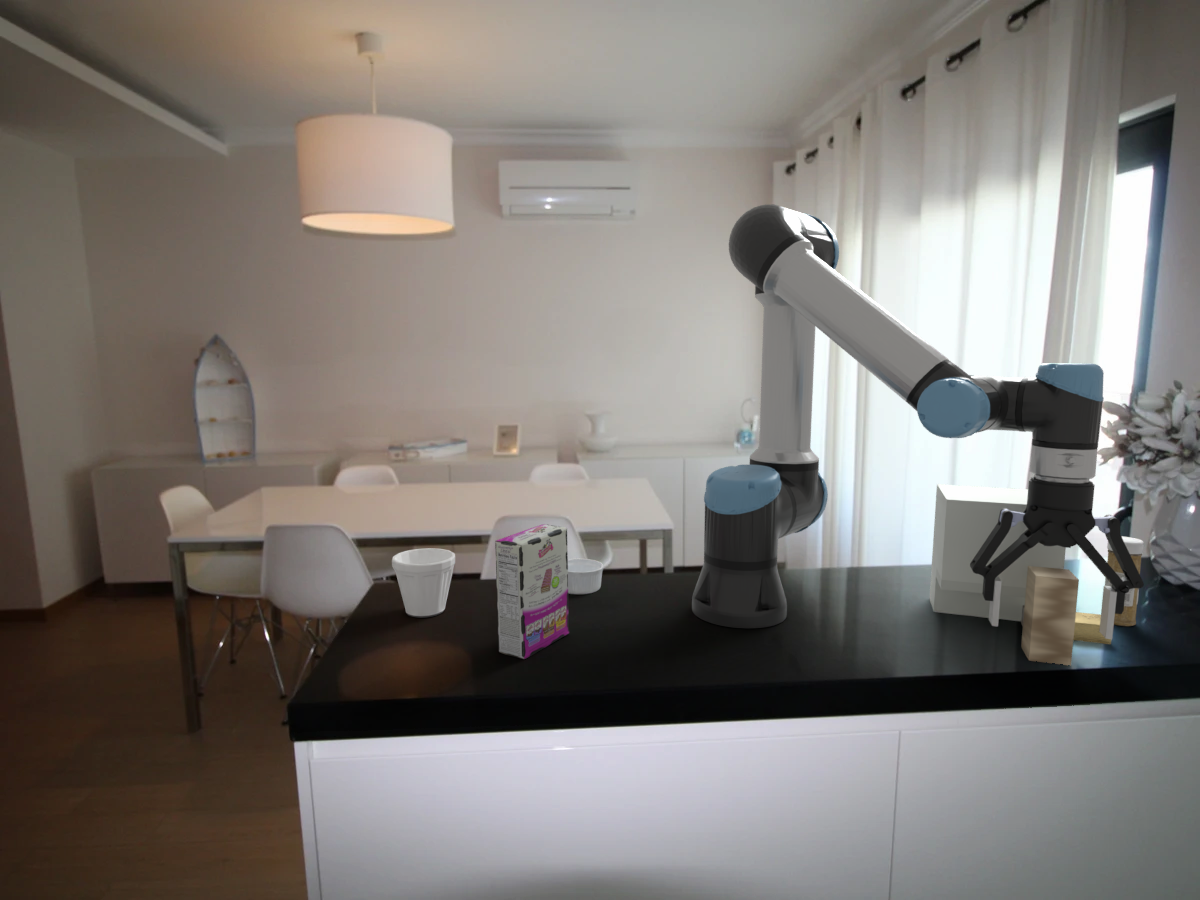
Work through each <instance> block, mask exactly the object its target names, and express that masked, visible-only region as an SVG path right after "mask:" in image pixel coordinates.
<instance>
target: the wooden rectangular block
mask: <svg viewBox="0 0 1200 900" xmlns="http://www.w3.org/2000/svg"><path fill="white" fill-rule="evenodd" d="M1079 583H1080V579H1079V578H1078V577H1077V576H1076V575H1075V574H1074V573H1073V572H1072V571H1071V570H1070V569H1068V568H1064V569H1057V568H1046V567H1034V566H1028V571H1027V583H1026V595H1025V606H1024V605H1023V607H1022V619H1021V621H1020V625H1021V626H1022V633H1021V634H1022V635H1021V643H1020V644H1021V646H1020V647H1021V649H1022V651H1023V653H1024V654H1025V657H1026V658H1027V660H1028V661H1029V662H1030V661H1031V662H1036V661H1037V662H1038V663H1045V664H1052V663H1055V664H1054V665H1060V664H1063V666H1068V665H1070V666H1072V659H1073V649H1074V648H1073V647H1074V640H1073V639H1074V628H1075V617H1076V612H1077V607H1078V606H1077V603H1078V594H1079V592H1078V591H1079ZM1046 662H1047V663H1046ZM1070 666H1069V667H1070Z"/></svg>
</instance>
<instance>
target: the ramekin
mask: <svg viewBox="0 0 1200 900" xmlns="http://www.w3.org/2000/svg"><path fill="white" fill-rule="evenodd" d="M604 567H605V566H604V564H603V563H602V562H601V561H598V560H595V559H589V558H568V595H569V594H570V595H589V594H592V593H596V592H597V591H599V590H600V589H601V586H602V576H603V571H604Z"/></svg>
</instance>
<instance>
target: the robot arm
mask: <svg viewBox="0 0 1200 900" xmlns="http://www.w3.org/2000/svg"><path fill="white" fill-rule="evenodd" d="M728 252H729V253H728V254H729V256H730V259H731V262H732V264H733V266H734V267H735V268H736V270H737V271H738V272H739V273H740V275H741V276H743V277H744V278H746V279H747V280H748V281H749V282H751V283H752V284H753V285H754V288H755V289H754V291H755V292H754V298H755V299H756V300H757V301H758V302H759V303H760V305H761V306H762V307H763V319H762V320H763V321H762V323H763V324H762V349H761V351H762V352H761V353H762V354H761V375H760V376H761V378H760V379H761V381H760V408H759V409H760V411H759V436H758V437H759V438H758V439H759V440H758V441H759V442H758V447H757V449H755V450H754V451H753V452H752V453H751V454H750V455H749V464H738V465H736V466H734V465H729V466H725V467H720V468H719V469H718V468H717V469H715V470H714V471H713V472H711V473H710V474H709V476H708V477H707V479H706V482H705V483H706V484H705V490H704V491H705V492H704V496H703V502H704V536H703V537H704V539H703V541H704V542H703V564H702V565H703V566H702V567H701V570H700V574H699V576H698V578H697V579H698V580H697V582H696V584H695V587H694V590H693V593H692V597H691V599H692V600H691V611H692V613H693V614H694V616H695V617H697V618H698V619H701V620H703V621H705V622H706V623H707V622H708V623H711V624H714V625H716V626H717V625H718V626H721V627H727V628H736V629H763V628H768V627H773V626H776V625H778V624H782V622H784V621H785V620H786V618H787V615H788V603H787V601H788V600H787V598H786V594H785V591H784V588H783V585H782V584H783V583H782V581H781V578H780V574H779V570H778V549H779V539H781V538H784V537H787V536H789V535H792V534H797V533H800V532H802V531H805V530H806V529H808V528H809V527H810V526H812V525H813V524H815V523H816V522H817V521H819V519H820V518H821V516H822V515H823V513H824V512H825V510H826V507H827V505H828V487H827V484H826V481H825V479H824V478H823V477H822V476H821V474H820V472H819V468H820V467H819V465H820V458H819V457H818V455H817V454H815V452H814V451H813V450H812V449H811V442H812V441H811V439H812V436H811V435H812V419H813V418H812V415H813V393H814V367H815V346H816V343H815V342H816V328H817V329H818V330H820V331H821V332H822V333H823V334H824V335H826V336H827V337H828V338H829V339H830V340H832V342H834V343H835V344H836V345H837V346H839V347H840V348H841V349H842V350H844V352H846V353H847V354H848V355H849V356H851V357H852V358H853V359H854V360H855V361H856V362H858V363H859V364H860V365H861V366H863V367H864V368H865V369H866V370H867V371H868V372H870V373H871V374H872V375H874V376H875V377H876V378H877V379H878V380H879V381H880V382H882V383H883V384H884V385H885V386H886V387H888V388H889V389H890V390H891V391H892V392H894V393H895V394H896V395H897V396H898V397H900V398H901V399H902V400H903V401H905V402H906V403H907V404H908V405H909V406H911V408H912V409H913V410H915V412H917V416H918V419H919V421H920V423H921V425H922V426H923V428H924V429H925V430H927V431H928V433H930V434H932V435H935V436H937V437H939V438H945V439H962V438H963V439H964V438H967V437H970V436H973V435H974V434H977V433H982V432H984V431H988V430H989V431H1008V432H1009V431H1011V432H1024V433H1026V432H1030V433H1032V440H1031V451H1030V452H1031V453H1030V462H1029V463H1030V465H1029V472H1030V473H1031V474H1032V475H1034V476H1032V477H1030V478H1028V486H1027V487H1028V488H1027V489H1028V497H1027V507H1026V509H1025V511H1024V512H1023V513H1021V512H1015V511H1010V510H1009V509H1007V508H1002V509H1001V510H1000V514H999V519H998V523H997V525H996V526H995V527H994V529H993V530H992V532H991V533H990V535H989V536H988V538H987V539H986V541H985V542H984V544H983V545H982V547H981V548H980V550H979V551H978V553H977V554H976V556H975V557H974V559H973V560H972V561H971V563H970V567H971V569H972V571H973V572H974V573H975V574H979V575H982V576H983V577H984V579H983V592H982V594H983V597H984V599H985V600H986V601H990V608H989V618H988V621H989V623H990V625H991V627H999V620H1000V619H999V607H1000V594H1001V582H1002V581H1001V580H1000V578H999V577H998V575H999V574H1001V573H1002V572H1003V571H1004V570H1005V569H1006V568H1008V567H1009V566H1010V565H1011V564H1012V563H1013V562H1014V561H1016V560H1017V559H1018V558H1019V557H1020V556H1021V555H1023V554H1024V553H1025V552H1026V551H1027V550H1028V549H1030V548H1032V547H1034V546H1035V545H1036V544H1037V543H1041V544H1043V545H1044V546H1056V545H1058V546H1062V547H1066V549H1067V548H1070V549H1071V547H1074V546H1076V545H1077V546H1078V547H1079V548H1080V550H1082V552H1083V553H1084V554H1085V555H1086V557H1088V559H1089V560H1090V561H1091V563H1093V565H1094V566H1095V568H1097V569H1098V570H1099V572H1100V573H1101V574H1102V576H1104V577H1106V579H1107V580H1108V581H1109V582H1110V583H1111V584H1112V587H1110V586H1105V585H1103V588H1102V589H1103V591H1102V600H1101V610H1100V611H1101V612H1100V615H1101V619H1100V630H1099V632H1100V633H1101V634H1102V635H1103V636H1104V637H1105V638H1106V639H1111V640H1113V635H1114V626H1115V625H1114V617H1115V614H1122V612H1123V611H1124V601H1125V593H1128V592H1129V589H1133V588H1138V589H1139V590H1140V589H1142V588H1143V587H1144V584H1145V583H1144V580H1143V579H1142V576H1141V573H1140V574H1139V572H1138V570H1137V568H1136V566H1135V564H1134V562H1133V560H1132V558H1131V556H1130V554H1129V551H1128V549H1127V547H1126V545H1125V543H1124V541H1123V539H1122V537H1121V536H1122V535H1121V534H1122V533H1121V521H1120V519H1118V518H1117V517H1115V516H1113V515H1112V514H1106V515H1104V516H1094V515H1093V508H1094V507H1093V506H1094V505H1093V504H1094V496H1095V495H1094V494H1095V484H1094V483H1093V481H1091V480H1092V479H1094V478H1095V477H1096V475H1097V474H1096V470H1097V460H1098V449H1099V440H1100V430H1101V422H1102V414H1103V404H1104V396H1103V395H1104V373H1105V372H1104V370H1103V368H1102V367H1101V366H1100V365H1099V364H1096V363H1085V362H1084V363H1083V362H1082V363H1081V362H1079V363H1078V362H1077V363H1075V362H1071V363H1069V362H1067V363H1066V362H1065V363H1062V362H1060V363H1059V362H1057V363H1056V362H1049V363H1048V362H1045V363H1041V364H1040V365H1039V366H1038V368H1037V372H1036V373H1035V376H1027V377H1026V376H1024V377H1012V376H994V375H993V376H988V375H985V376H984V375H974V374H973V375H972V374H968V373H967V372H965V371H964V370H963V369H961V368H960V367H959V366H958V365H957V364H956V363H953V362H952V361H951V360H949V358H948V357H946V356H945V355H944V354H943V353H941V352H940V351H939V350H937V349H936V348H935V347H934V346H932V344H930V343H929V342H928V341H926V340H925V339H923V338H922V337H921V336H919V335H918V334H917V333H916V332H914V331H913V330H912V329H910V328H909V327H908V326H907V325H905V324H904V323H903V322H901V321H900V319H898V318H896V317H895V316H894V315H893V314H891V313H890V312H889V311H888V310H886V309H885V308H884V307H883V306H881V305H880V304H879V303H878V302H876V301H875V300H874V299H872V297H870V296H868V295H867V294H866V293H864V291H862V290H861V289H860V288H858V287H856V285H854V284H853V283H852V282H851V281H849V280H847V278H845V277H844V276H842V275H841V274H840V273H839V272H837V271H836V268H837V266H838V262H839V259H840V245H839V242H838V239H837V236H836V234H835V233H834V231H833V230H832V228H831V227H830V226H829V225H828V224H826V223H825V222H824V221H822V220H821V219H820V218H819V217H816V216H814V215H812V214H809V213H805V212H804V213H802V212H800V211H796V210H793V209H790V208H787V207H785V206H781V205H777V204H769V203H768V204H762V205H758V206H755V207H753V208H750V209H749V210H747V211H745V212H744V213H743V214H742V215H740V217H739V218H738V219H737V220H736V221H735V223H734V225H733V227H732V228H731V232H730V235H729V239H728ZM1019 521H1023V523H1024V524H1025V525H1026V527H1027V528H1028V529H1027V530H1026V531H1025V532H1024V533H1023V534H1021V535H1020V537H1019V538H1018V539H1017V540H1016V541H1015V542H1014V543H1013V544H1012V545H1010V546H1009V547H1008V548H1007V549H1006V550H1005V551H1004V552H1002V553H1001V554H1000V555H999V556H998V557H997V558H995V559H994V560H993V561H992V562H991V563H990V564H989V565H987V566H986V564H987V563H988V561H989V560H990V559H991V557H992V556H993V554H994V553H995V551H996V550H997V548H998V547H999V545H1000V544H1001V542H1002V541H1003V540H1004V538H1005V537H1006V535H1007V534H1008V532H1009V530H1010V528H1011V527H1014V526H1016V524H1017V523H1018V522H1019ZM1095 527H1097V528H1098V530H1099V531H1100V532H1101V533H1102V534H1104V535H1105V537H1106V540H1107V543H1108V542H1109V544H1110V546H1111V548H1112V550H1113V552H1114V554H1115V556H1116V559H1117V561H1118V563H1119V565H1120V567H1121V569H1122V571H1123V573H1124V575H1125V577H1123V578H1120V577H1119V576H1118V575H1117V574H1116V572H1115V571H1114V570H1113V569H1112V568H1111V566H1110V565H1109V564H1108V563H1107V560H1105V558H1104V557H1103V556H1102V555H1101V554H1100V552H1099V551H1098V550H1097V549H1096V548H1095V546H1094V545H1093V543H1091V542H1090V540H1089V539H1088V538H1087V537H1086V536H1087V535H1088V534H1089V533H1090V532H1091V531H1092V530H1093V529H1094V528H1095Z"/></svg>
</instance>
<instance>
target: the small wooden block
mask: <svg viewBox="0 0 1200 900" xmlns="http://www.w3.org/2000/svg"><path fill="white" fill-rule="evenodd" d="M1100 619H1101V613H1100V614H1099V613H1088V612H1079V611H1076V617H1075V628H1074V639H1073V641H1077V642H1078V641H1079V642H1086V643H1093V644H1094V643H1095V644H1103V645H1111V644H1112V639H1106V638H1105V637H1104V636H1103V635H1102V634H1101V633H1100V632H1099V630H1100Z"/></svg>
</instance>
